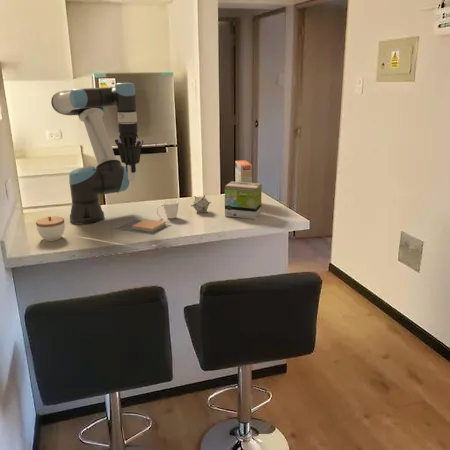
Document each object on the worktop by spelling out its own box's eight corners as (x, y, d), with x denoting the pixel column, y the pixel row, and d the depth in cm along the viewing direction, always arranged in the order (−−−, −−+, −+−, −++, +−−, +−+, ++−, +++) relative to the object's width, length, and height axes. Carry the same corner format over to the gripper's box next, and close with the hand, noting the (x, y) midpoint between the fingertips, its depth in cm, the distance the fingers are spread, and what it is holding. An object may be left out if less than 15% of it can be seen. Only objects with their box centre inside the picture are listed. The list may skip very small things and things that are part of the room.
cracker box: (252, 207, 231) (252, 164, 225) (240, 207, 230) (240, 165, 224) (246, 199, 245) (246, 159, 238) (235, 200, 244) (234, 160, 237)
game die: (204, 220, 224) (208, 207, 216) (187, 214, 224) (190, 200, 216) (210, 207, 229) (214, 194, 221) (194, 201, 230) (197, 187, 222)
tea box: (224, 217, 217) (223, 185, 212) (231, 211, 226) (230, 180, 221) (256, 219, 212) (256, 187, 207) (261, 213, 221) (262, 182, 216)
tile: (132, 225, 198) (151, 228, 194) (146, 219, 207) (165, 222, 202) (132, 229, 199) (152, 232, 194) (146, 223, 207) (165, 226, 203)
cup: (180, 221, 211) (179, 203, 209) (157, 222, 210) (156, 205, 207) (178, 216, 218) (177, 199, 215) (156, 218, 216) (155, 201, 214)
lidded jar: (32, 240, 190) (29, 217, 187) (55, 232, 199) (52, 211, 196) (49, 245, 184) (46, 222, 181) (71, 237, 193) (69, 215, 190)
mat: (114, 229, 201) (114, 228, 201) (134, 220, 213) (134, 219, 212) (153, 236, 192) (153, 235, 192) (171, 226, 204) (171, 225, 204)
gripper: (108, 122, 191) (113, 180, 198) (135, 124, 185) (139, 183, 192) (120, 121, 197) (124, 176, 204) (146, 122, 191) (149, 179, 199)
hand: (131, 179), depth 198 cm, fingers closed
